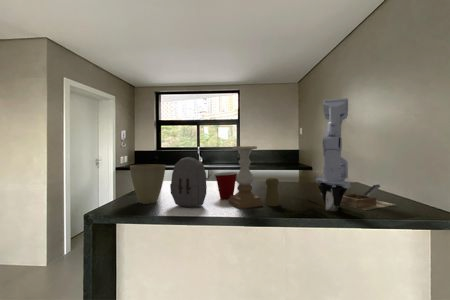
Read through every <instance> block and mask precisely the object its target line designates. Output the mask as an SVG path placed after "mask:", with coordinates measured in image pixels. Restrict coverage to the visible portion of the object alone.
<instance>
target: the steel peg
mask: <svg viewBox="0 0 450 300" xmlns="http://www.w3.org/2000/svg"><path fill="white" fill-rule="evenodd" d="M325 210H326V211H328V212H338V211H339V206H335V205H334V195H333V191H332V190H326V204H325Z"/></svg>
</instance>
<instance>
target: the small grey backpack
mask: <svg viewBox="0 0 450 300" xmlns="http://www.w3.org/2000/svg"><path fill="white" fill-rule="evenodd" d="M169 185H170V186H169V187H170V189H169V190H170V194H171V197H172V199H173V202H174V204H175V205H177V206H180V207H186V208H195V207H202V206H203V205H204V203H205V200H206V196H207V190H208V189H207V186H208V185H207V172H206V169H205V165H204V164H203V163H202V162H201V161H200V160H198V159H197V158H195V157H191V156H186V157H183V158H180V159H179V160H178V161H177V162H175V164H174V168H173V170H172V173H171V182H170V184H169Z"/></svg>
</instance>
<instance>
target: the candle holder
mask: <svg viewBox="0 0 450 300" xmlns="http://www.w3.org/2000/svg"><path fill="white" fill-rule="evenodd" d="M231 149H232V150H237V153H238V154H239V156H240V159H239V160H238V164H239V167H240V168H239V171H238V173H237V176H236V181H235V182H236V183H238V185H237V188H236V189H237V191H238V192H236V193H235V194H233V195H231V196H230V198H229V199H228V200H227V204H229V205H230V206H233V208H237V209H240V210H242V209H248V208H249V209H250V208H257V207H263V206H264V201H263V200H261V197H260V196H258V195H256V194H255V193H254V192H252V190H253V185H251V184H253V182H254V181H255V179H254V176H253V174H252V172H251V170H250V165H251V164H252V161H251V159H250V154H251V153H252V150H257V149H258V147H257V146H255V145H253V146H251V145H250V146H249V145H245V146H244V145H243V146H242V145H240V146H232V148H231Z"/></svg>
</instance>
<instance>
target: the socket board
mask: <svg viewBox="0 0 450 300" xmlns="http://www.w3.org/2000/svg"><path fill="white" fill-rule="evenodd" d="M340 205H343V206H347V207H351V208H354V209H359V210H362V211H367V210H373V209H374V210H375V209H379V208H386V207H391V206H397V204H396V203H391V202H385V201H382V200H381V201H380V200H377V197H376V196H375V197H374V196H371V195H370V196H365V195H363V194H360V193H359V194H358V193H350V194H344V195H343V197H342V200H341V204H340Z"/></svg>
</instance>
